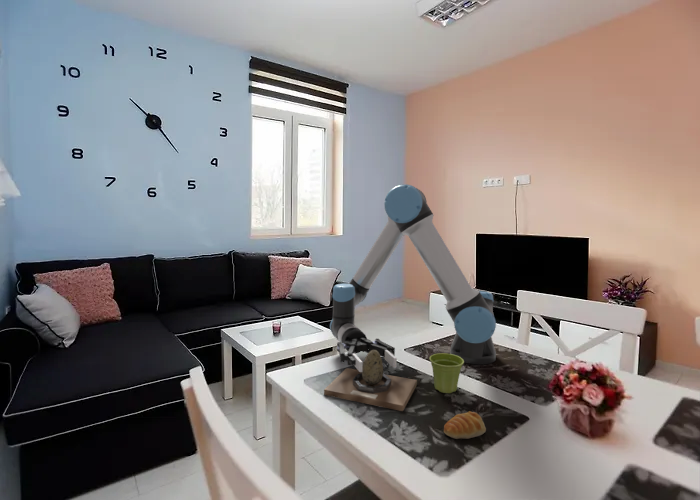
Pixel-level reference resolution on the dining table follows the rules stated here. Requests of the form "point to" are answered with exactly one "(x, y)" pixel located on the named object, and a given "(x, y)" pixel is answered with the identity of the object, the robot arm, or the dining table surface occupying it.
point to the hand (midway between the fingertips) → (378, 365)
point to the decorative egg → (372, 368)
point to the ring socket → (371, 388)
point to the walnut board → (390, 399)
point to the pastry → (465, 426)
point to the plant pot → (446, 371)
